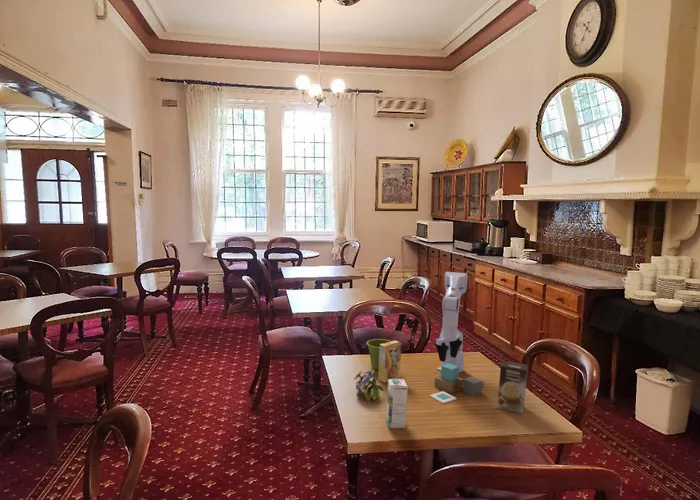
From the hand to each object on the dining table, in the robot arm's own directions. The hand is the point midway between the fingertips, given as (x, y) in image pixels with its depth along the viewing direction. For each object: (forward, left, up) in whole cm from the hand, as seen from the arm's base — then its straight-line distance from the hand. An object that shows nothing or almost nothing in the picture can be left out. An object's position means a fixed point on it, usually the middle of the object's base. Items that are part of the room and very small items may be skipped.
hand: (447, 359), depth 177 cm
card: (+11, +9, -10) cm, 17 cm away
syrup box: (+39, +15, -11) cm, 43 cm away
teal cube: (+1, +3, -7) cm, 7 cm away
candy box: (+18, -15, -11) cm, 26 cm away
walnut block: (+2, +3, -11) cm, 11 cm away
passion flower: (+34, -7, -11) cm, 36 cm away
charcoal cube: (-3, +11, -11) cm, 15 cm away
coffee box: (-5, +27, -11) cm, 29 cm away
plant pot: (+14, -27, -11) cm, 32 cm away
